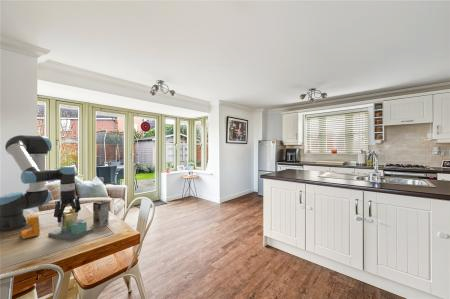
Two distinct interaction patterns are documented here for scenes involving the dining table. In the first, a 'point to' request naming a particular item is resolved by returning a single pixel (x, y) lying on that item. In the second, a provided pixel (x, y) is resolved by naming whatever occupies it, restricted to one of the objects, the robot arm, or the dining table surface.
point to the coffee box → (100, 213)
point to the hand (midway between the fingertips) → (68, 224)
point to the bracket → (35, 227)
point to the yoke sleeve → (69, 218)
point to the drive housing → (72, 231)
